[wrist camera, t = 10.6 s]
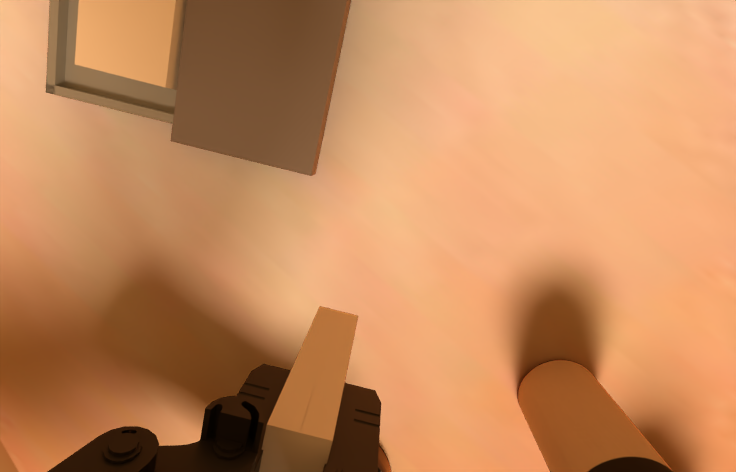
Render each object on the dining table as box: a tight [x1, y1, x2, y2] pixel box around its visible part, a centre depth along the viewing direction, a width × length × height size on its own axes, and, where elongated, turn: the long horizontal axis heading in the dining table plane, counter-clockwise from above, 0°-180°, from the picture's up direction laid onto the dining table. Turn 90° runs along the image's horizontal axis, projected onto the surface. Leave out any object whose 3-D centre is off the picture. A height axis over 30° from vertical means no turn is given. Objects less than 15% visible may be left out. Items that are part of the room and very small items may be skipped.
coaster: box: [75, 0, 187, 90], centre depth 35 cm, size 8×8×2 cm
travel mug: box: [518, 360, 674, 472], centre depth 33 cm, size 8×8×18 cm
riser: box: [171, 0, 351, 176], centre depth 36 cm, size 16×13×2 cm
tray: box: [46, 0, 177, 124], centre depth 36 cm, size 13×12×2 cm
